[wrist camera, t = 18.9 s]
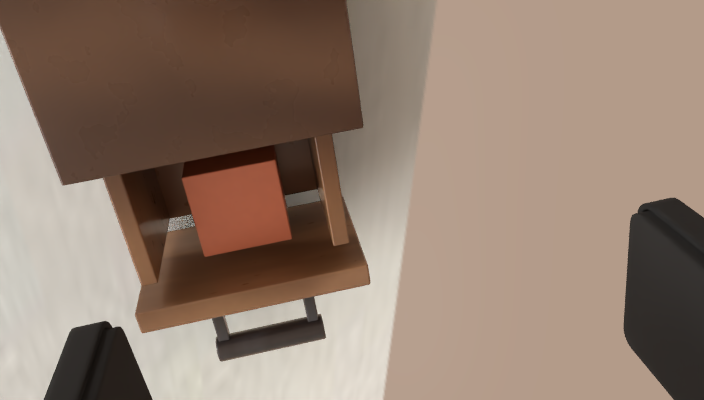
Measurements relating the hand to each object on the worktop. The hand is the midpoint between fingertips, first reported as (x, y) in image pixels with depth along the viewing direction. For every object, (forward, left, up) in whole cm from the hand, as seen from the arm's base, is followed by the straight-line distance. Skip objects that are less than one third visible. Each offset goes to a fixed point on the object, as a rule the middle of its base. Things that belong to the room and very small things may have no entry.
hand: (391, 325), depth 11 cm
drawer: (+4, +7, -24) cm, 26 cm away
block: (+4, +7, -23) cm, 25 cm away
